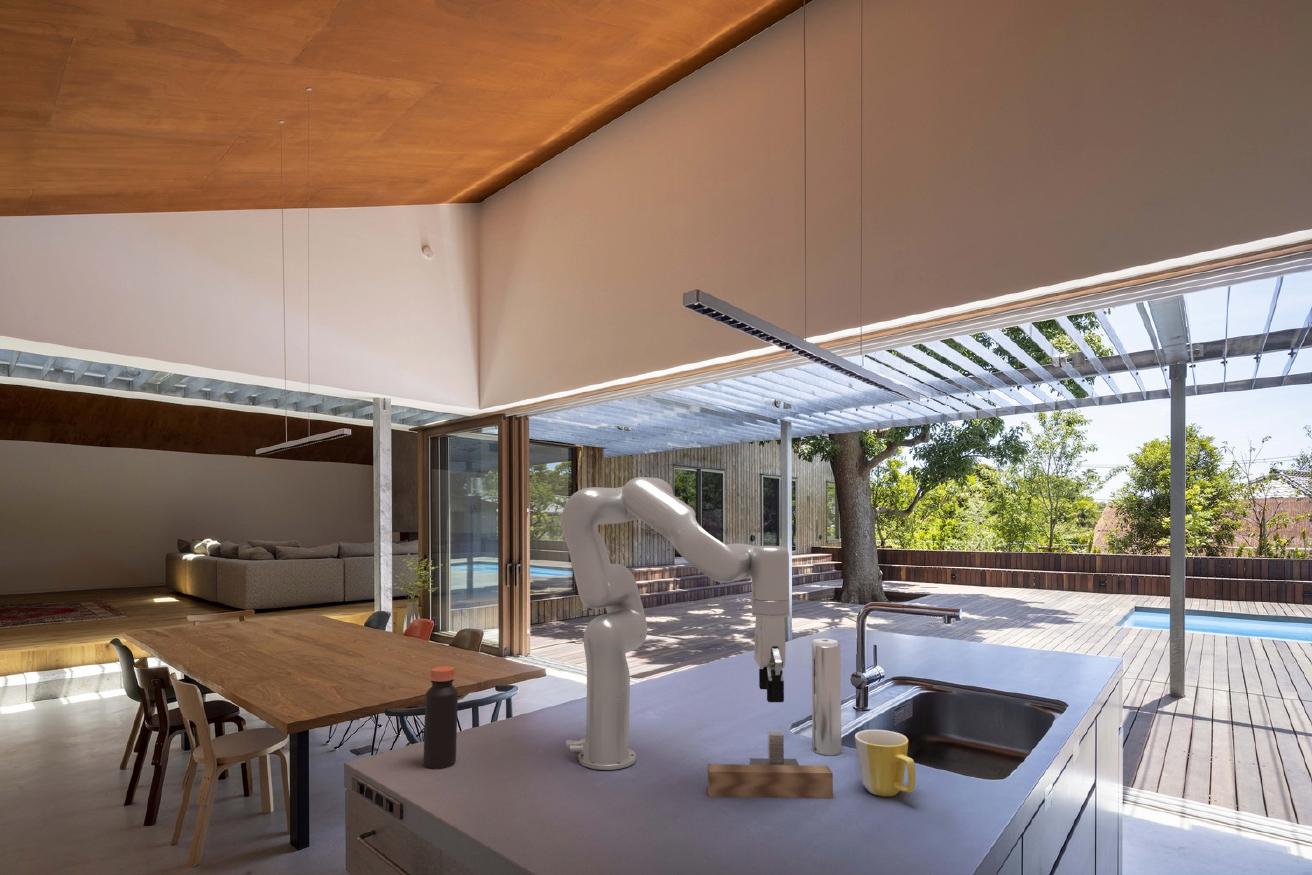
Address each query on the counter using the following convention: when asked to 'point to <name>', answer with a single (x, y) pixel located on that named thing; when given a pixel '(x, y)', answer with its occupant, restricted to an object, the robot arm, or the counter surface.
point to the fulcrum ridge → (774, 752)
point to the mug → (884, 762)
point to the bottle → (440, 719)
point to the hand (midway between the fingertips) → (771, 695)
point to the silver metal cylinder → (826, 697)
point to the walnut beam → (770, 781)
